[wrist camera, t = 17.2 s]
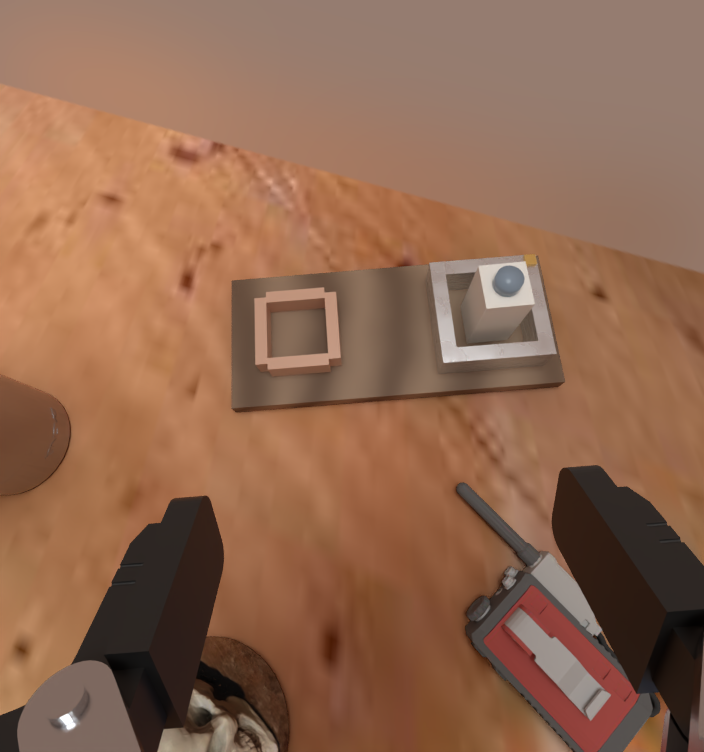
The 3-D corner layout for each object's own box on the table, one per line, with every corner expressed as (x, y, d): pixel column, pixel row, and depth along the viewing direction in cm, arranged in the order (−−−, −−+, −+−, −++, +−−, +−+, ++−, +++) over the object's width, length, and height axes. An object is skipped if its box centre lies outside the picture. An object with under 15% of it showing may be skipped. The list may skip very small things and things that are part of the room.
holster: (260, 377, 40) (255, 370, 38) (259, 303, 42) (254, 293, 40) (342, 371, 40) (341, 363, 38) (337, 296, 42) (335, 286, 40)
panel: (236, 412, 41) (231, 408, 40) (236, 288, 45) (231, 280, 43) (558, 386, 41) (565, 381, 39) (532, 264, 44) (538, 255, 43)
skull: (325, 677, 34) (257, 857, 25) (287, 743, 39) (218, 914, 30) (184, 596, 36) (72, 738, 27) (164, 669, 40) (63, 810, 31)
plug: (466, 343, 41) (489, 302, 33) (460, 306, 42) (481, 258, 34) (507, 339, 41) (539, 297, 33) (500, 302, 42) (529, 254, 34)
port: (437, 374, 40) (443, 361, 37) (425, 280, 43) (429, 261, 39) (543, 365, 40) (558, 352, 37) (523, 272, 42) (536, 252, 39)
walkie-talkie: (667, 676, 35) (464, 476, 39) (708, 698, 30) (475, 470, 35) (591, 774, 33) (389, 553, 38) (624, 812, 29) (392, 558, 33)
